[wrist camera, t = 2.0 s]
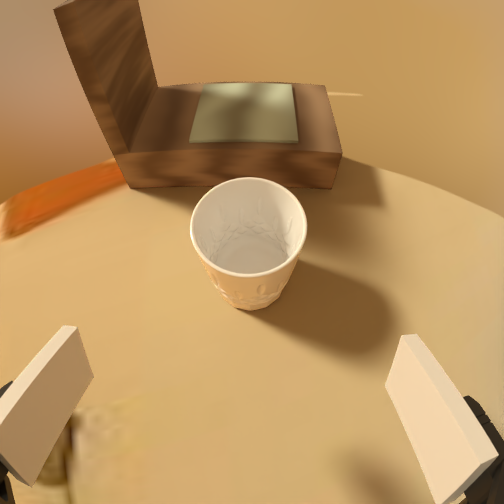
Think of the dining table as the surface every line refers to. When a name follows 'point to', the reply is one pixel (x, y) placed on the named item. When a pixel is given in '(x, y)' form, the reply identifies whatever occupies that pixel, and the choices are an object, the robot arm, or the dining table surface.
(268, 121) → the walnut shelf
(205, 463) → the dining table surface
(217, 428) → the dining table surface
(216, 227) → the white cup
